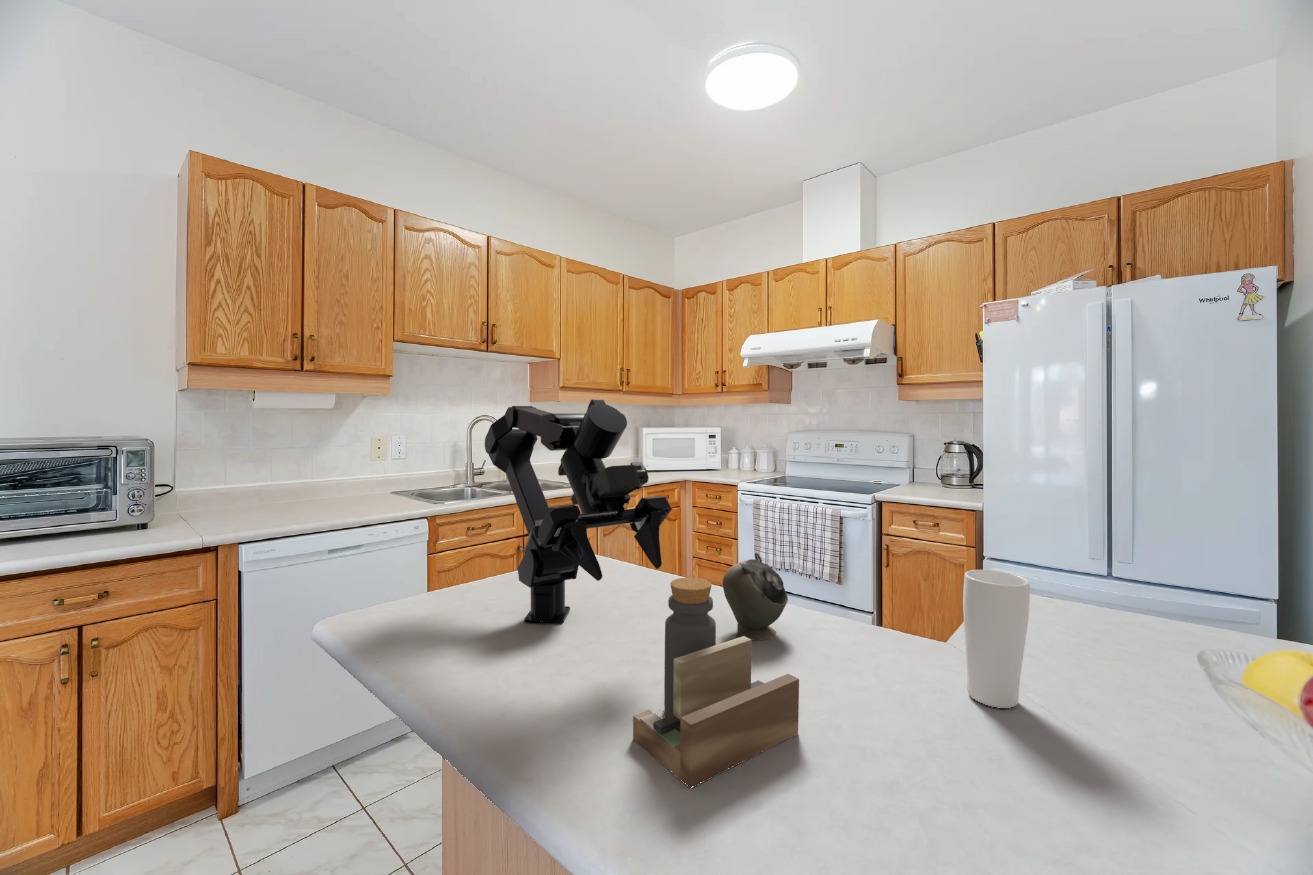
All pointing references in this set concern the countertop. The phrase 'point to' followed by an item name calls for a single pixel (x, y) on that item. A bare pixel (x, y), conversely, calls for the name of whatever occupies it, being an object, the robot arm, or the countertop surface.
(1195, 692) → the countertop surface
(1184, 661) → the countertop surface
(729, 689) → the wooden flat panel
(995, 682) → the drinking glass
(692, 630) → the bottle
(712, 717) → the wooden rack
